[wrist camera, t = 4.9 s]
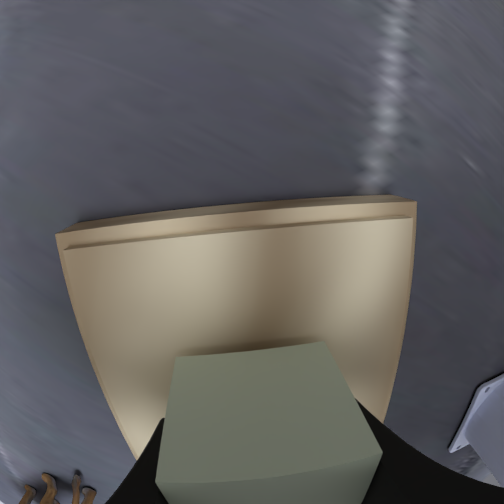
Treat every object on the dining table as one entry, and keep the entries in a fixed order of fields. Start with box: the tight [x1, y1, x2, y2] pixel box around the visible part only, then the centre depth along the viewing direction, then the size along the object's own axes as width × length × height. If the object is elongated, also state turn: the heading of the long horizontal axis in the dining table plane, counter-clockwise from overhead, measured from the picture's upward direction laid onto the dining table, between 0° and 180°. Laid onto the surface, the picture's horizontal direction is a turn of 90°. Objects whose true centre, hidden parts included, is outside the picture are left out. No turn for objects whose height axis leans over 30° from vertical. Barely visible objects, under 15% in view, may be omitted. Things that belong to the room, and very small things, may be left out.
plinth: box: [55, 195, 417, 460], centre depth 12 cm, size 13×13×2 cm
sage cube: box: [155, 341, 383, 504], centre depth 8 cm, size 5×5×5 cm
